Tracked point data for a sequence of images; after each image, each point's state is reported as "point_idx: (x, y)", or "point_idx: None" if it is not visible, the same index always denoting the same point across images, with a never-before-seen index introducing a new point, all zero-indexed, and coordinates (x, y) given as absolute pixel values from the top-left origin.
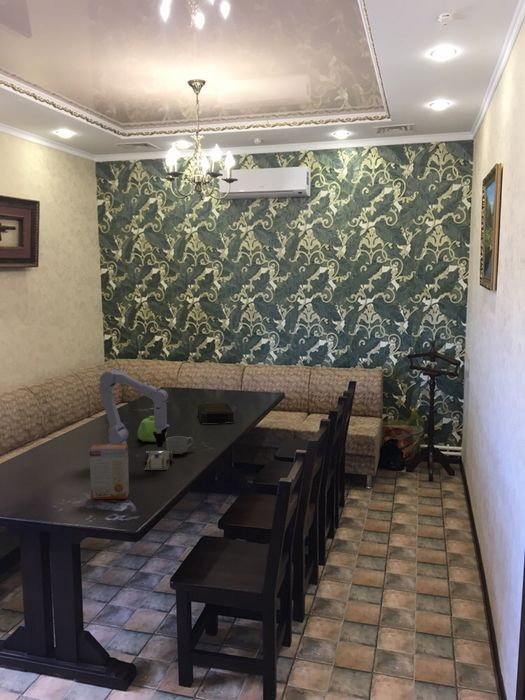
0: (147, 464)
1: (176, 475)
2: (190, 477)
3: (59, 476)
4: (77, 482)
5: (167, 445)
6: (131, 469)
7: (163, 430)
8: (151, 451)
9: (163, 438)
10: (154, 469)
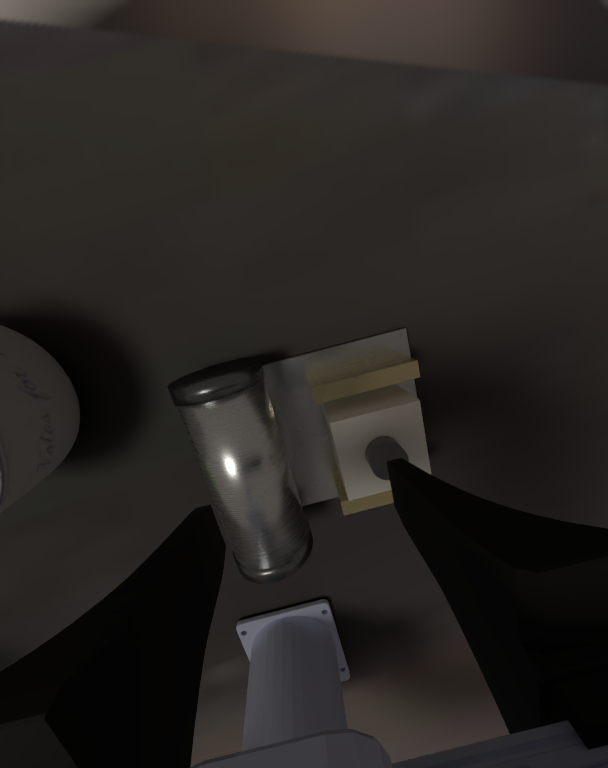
0: None
1: (496, 237)
2: (537, 109)
3: None
4: None
5: (30, 487)
6: (407, 539)
7: (135, 688)
8: (270, 539)
9: (496, 504)
10: None
